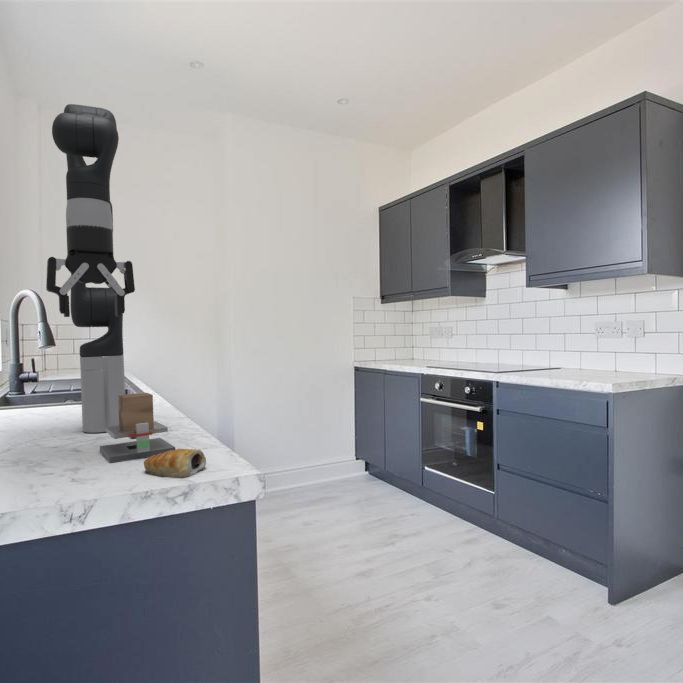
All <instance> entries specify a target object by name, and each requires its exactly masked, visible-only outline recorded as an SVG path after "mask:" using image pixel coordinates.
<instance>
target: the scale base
mask: <svg viewBox="0 0 683 683" xmlns="http://www.w3.org/2000/svg"><path fill="white" fill-rule="evenodd" d="M148 432H149V423H140V424H136V434H141V433H148ZM176 449H177V448H176V446H174V445H173V444H171V443H169V442H168V441H166V439H164V438H161V437H155V438H150V435H146V436H139V437H136V439H135V441H128V442H119V443H113V444H112V443H111V444H106V445H105V444H104V445H99V452H100V454H101V455H102V456H103V457H104V458H105V460H106V461H107V462H108V464H112V463H119V462H124V461H125V462H126V461H132V460H138V459H143V458H149V457H151V456H153V455H158V454H160V453H164V452H168V451H170V450H176Z"/></svg>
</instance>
